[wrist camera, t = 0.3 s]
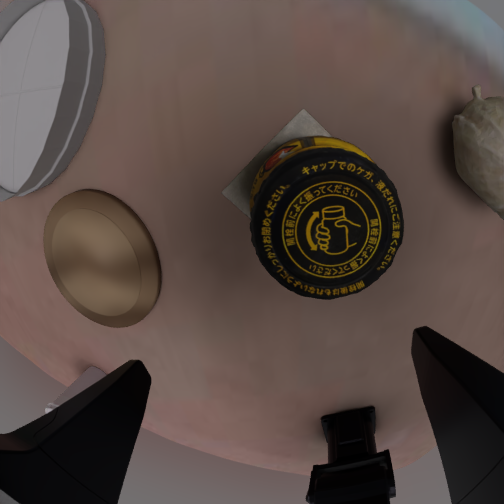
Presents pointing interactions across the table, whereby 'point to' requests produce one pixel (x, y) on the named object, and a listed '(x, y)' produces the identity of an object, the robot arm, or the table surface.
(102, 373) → the smoothie
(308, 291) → the condiment
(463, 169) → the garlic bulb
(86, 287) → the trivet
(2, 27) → the dish
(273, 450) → the table surface
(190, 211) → the table surface
